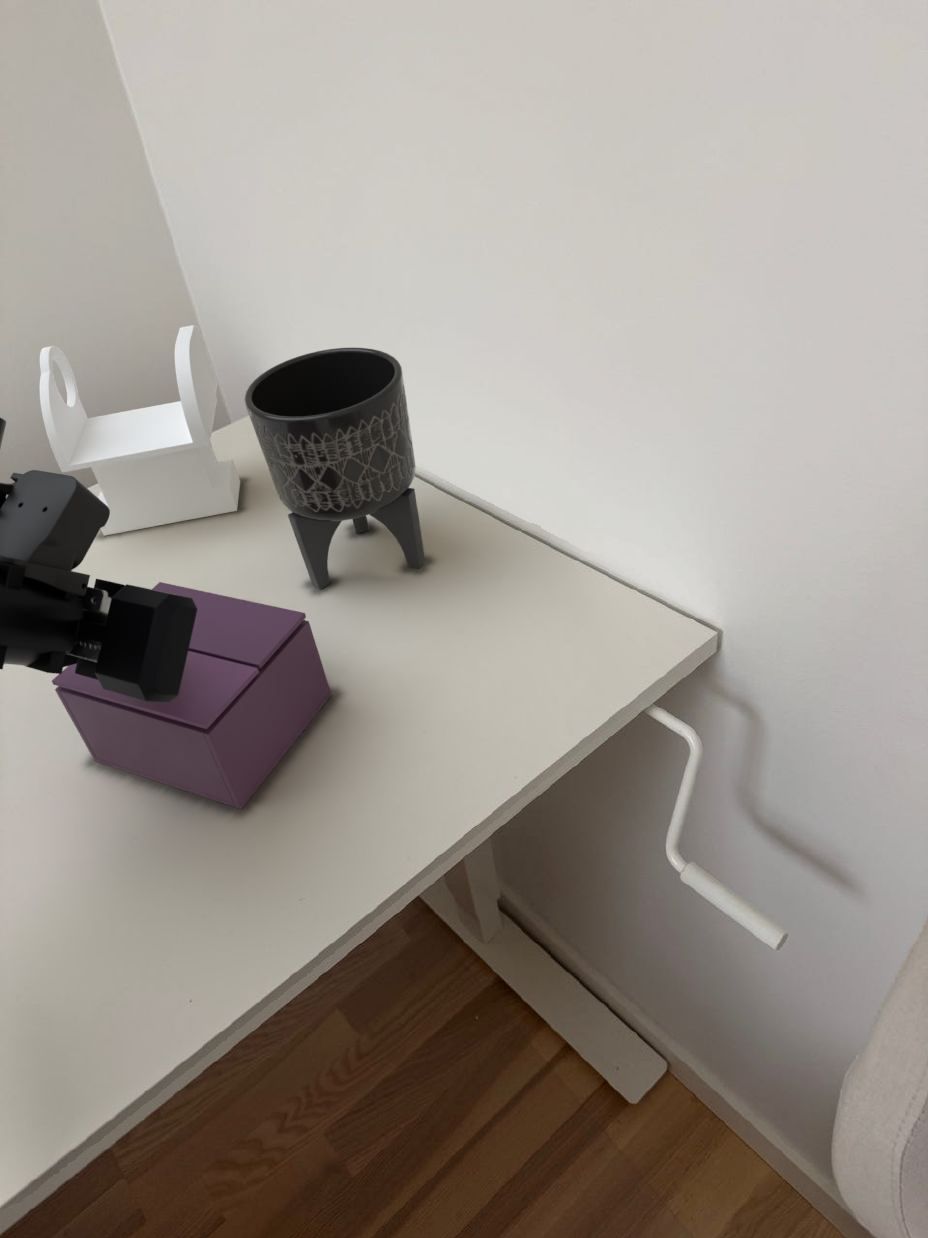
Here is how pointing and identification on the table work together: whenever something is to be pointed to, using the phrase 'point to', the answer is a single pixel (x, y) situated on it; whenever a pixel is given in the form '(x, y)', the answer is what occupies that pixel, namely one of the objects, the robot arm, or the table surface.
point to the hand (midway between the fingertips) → (154, 634)
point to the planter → (338, 448)
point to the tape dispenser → (145, 444)
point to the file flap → (199, 695)
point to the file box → (244, 732)
